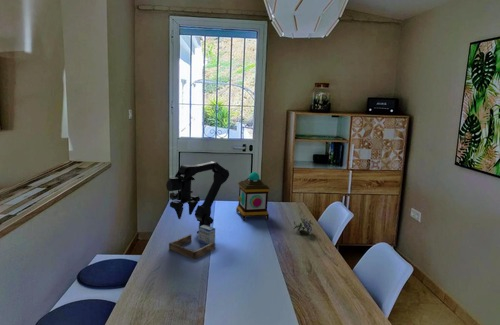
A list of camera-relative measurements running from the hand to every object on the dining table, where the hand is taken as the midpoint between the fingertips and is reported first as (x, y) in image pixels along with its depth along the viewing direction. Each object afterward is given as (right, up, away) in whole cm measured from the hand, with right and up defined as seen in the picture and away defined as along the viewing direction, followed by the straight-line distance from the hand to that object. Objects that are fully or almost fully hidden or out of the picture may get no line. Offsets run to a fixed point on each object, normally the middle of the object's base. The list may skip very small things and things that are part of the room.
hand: (184, 216), depth 196 cm
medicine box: (+12, -14, -2) cm, 18 cm away
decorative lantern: (+37, -6, +45) cm, 58 cm away
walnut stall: (+6, -15, -11) cm, 19 cm away
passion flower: (+66, -13, +19) cm, 70 cm away
